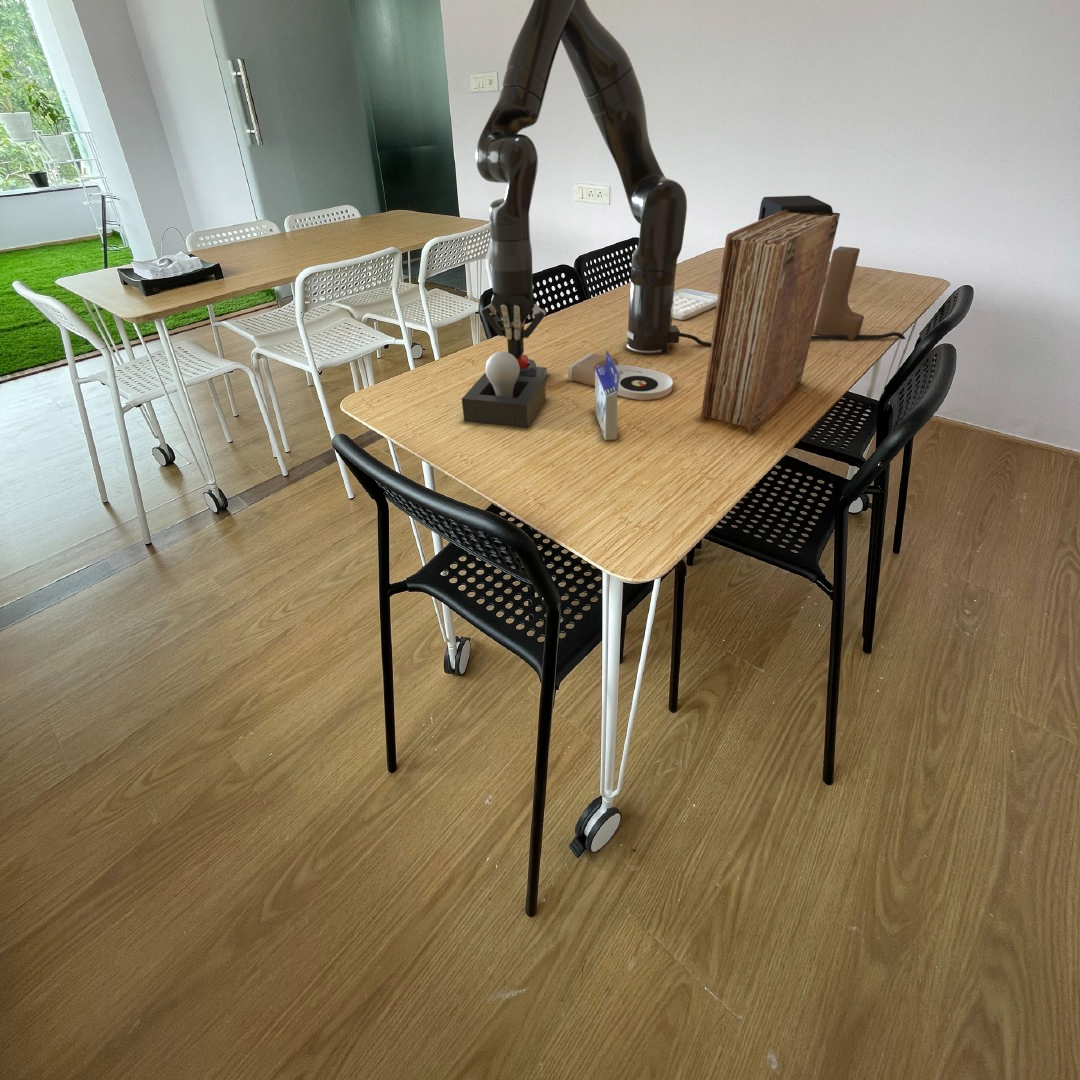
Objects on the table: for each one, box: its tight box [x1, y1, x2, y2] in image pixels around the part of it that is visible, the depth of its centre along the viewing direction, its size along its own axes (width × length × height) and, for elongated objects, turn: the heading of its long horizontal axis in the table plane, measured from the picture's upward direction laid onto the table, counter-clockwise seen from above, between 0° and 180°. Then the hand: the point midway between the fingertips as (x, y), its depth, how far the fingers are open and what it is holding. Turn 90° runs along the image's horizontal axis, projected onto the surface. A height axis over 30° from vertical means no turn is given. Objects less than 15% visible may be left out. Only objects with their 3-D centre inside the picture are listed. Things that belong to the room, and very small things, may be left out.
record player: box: [567, 352, 674, 401], centre depth 122 cm, size 12×3×20 cm
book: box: [700, 209, 841, 433], centre depth 106 cm, size 25×9×30 cm, turn 143°
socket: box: [461, 372, 547, 429], centre depth 113 cm, size 12×12×4 cm
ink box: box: [594, 350, 620, 441], centre depth 105 cm, size 12×2×12 cm, turn 5°
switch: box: [519, 358, 548, 379], centre depth 125 cm, size 10×8×4 cm
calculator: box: [672, 288, 718, 321], centre depth 161 cm, size 13×20×2 cm, turn 136°
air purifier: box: [757, 195, 834, 221], centre depth 177 cm, size 20×15×20 cm
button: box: [517, 353, 529, 369], centre depth 123 cm, size 4×4×2 cm
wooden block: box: [813, 246, 865, 341], centre depth 137 cm, size 9×4×18 cm, turn 52°
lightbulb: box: [485, 351, 520, 397], centre depth 111 cm, size 6×6×11 cm
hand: (516, 357), depth 123 cm, fingers closed
